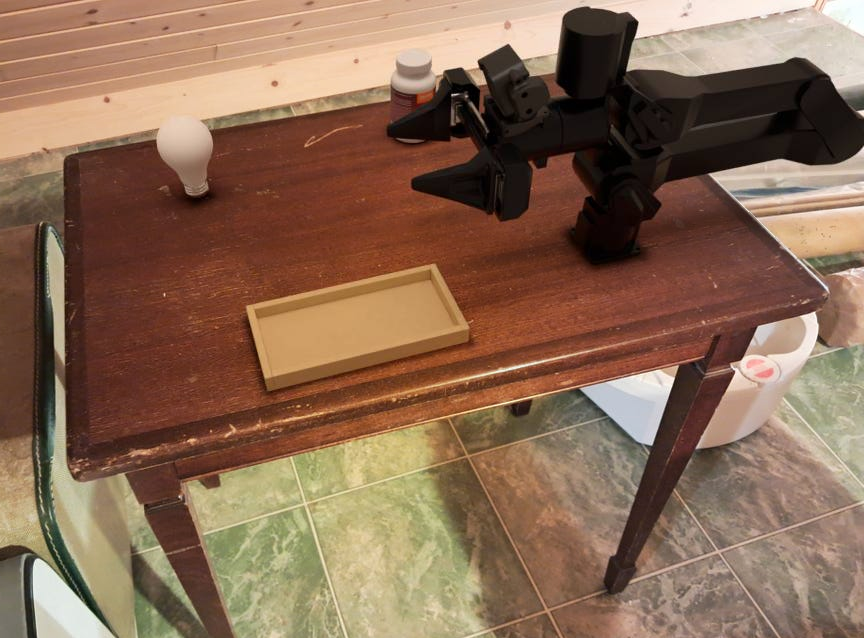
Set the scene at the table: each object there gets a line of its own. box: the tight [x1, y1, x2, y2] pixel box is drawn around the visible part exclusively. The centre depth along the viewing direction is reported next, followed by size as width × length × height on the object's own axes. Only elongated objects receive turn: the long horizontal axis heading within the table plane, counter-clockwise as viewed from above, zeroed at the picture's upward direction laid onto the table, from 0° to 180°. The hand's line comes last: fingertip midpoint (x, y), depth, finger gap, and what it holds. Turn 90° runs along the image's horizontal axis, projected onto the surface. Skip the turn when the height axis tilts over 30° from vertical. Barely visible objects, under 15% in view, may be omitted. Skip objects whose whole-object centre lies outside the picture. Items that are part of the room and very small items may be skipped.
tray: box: [245, 263, 471, 392], centre depth 77 cm, size 22×11×2 cm, turn 107°
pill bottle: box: [390, 48, 437, 144], centre depth 98 cm, size 6×6×11 cm
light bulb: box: [156, 114, 214, 199], centre depth 89 cm, size 7×7×11 cm
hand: (398, 156), depth 70 cm, fingers open, 9 cm apart
